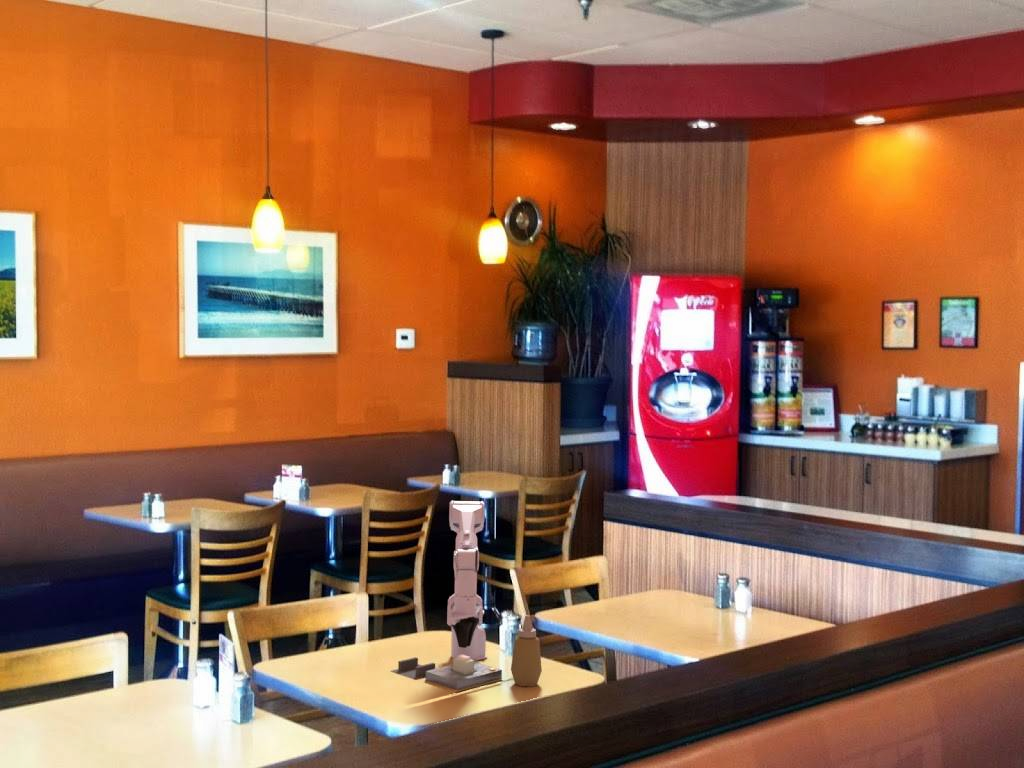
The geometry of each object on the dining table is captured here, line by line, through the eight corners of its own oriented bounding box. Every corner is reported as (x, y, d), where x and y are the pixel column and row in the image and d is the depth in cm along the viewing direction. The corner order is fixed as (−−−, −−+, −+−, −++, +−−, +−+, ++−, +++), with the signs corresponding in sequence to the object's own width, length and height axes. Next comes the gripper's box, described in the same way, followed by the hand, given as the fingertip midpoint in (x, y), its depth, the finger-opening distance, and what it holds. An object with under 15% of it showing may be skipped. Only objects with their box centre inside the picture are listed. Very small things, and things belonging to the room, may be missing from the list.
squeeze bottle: (542, 680, 333) (544, 612, 332) (540, 689, 325) (541, 620, 324) (512, 678, 334) (513, 611, 333) (508, 687, 326) (510, 618, 325)
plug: (461, 678, 333) (461, 653, 333) (473, 683, 329) (474, 657, 329) (452, 680, 331) (453, 655, 331) (465, 685, 327) (465, 659, 327)
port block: (470, 671, 340) (470, 659, 340) (501, 681, 332) (501, 668, 331) (425, 682, 329) (425, 670, 329) (456, 693, 320) (457, 680, 320)
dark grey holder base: (418, 667, 343) (418, 655, 343) (443, 675, 336) (443, 662, 336) (390, 674, 336) (390, 661, 336) (414, 682, 329) (414, 669, 329)
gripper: (466, 587, 337) (465, 638, 338) (437, 598, 324) (436, 650, 325) (489, 591, 334) (488, 641, 335) (461, 601, 321) (460, 654, 322)
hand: (464, 646), depth 330 cm, fingers closed
